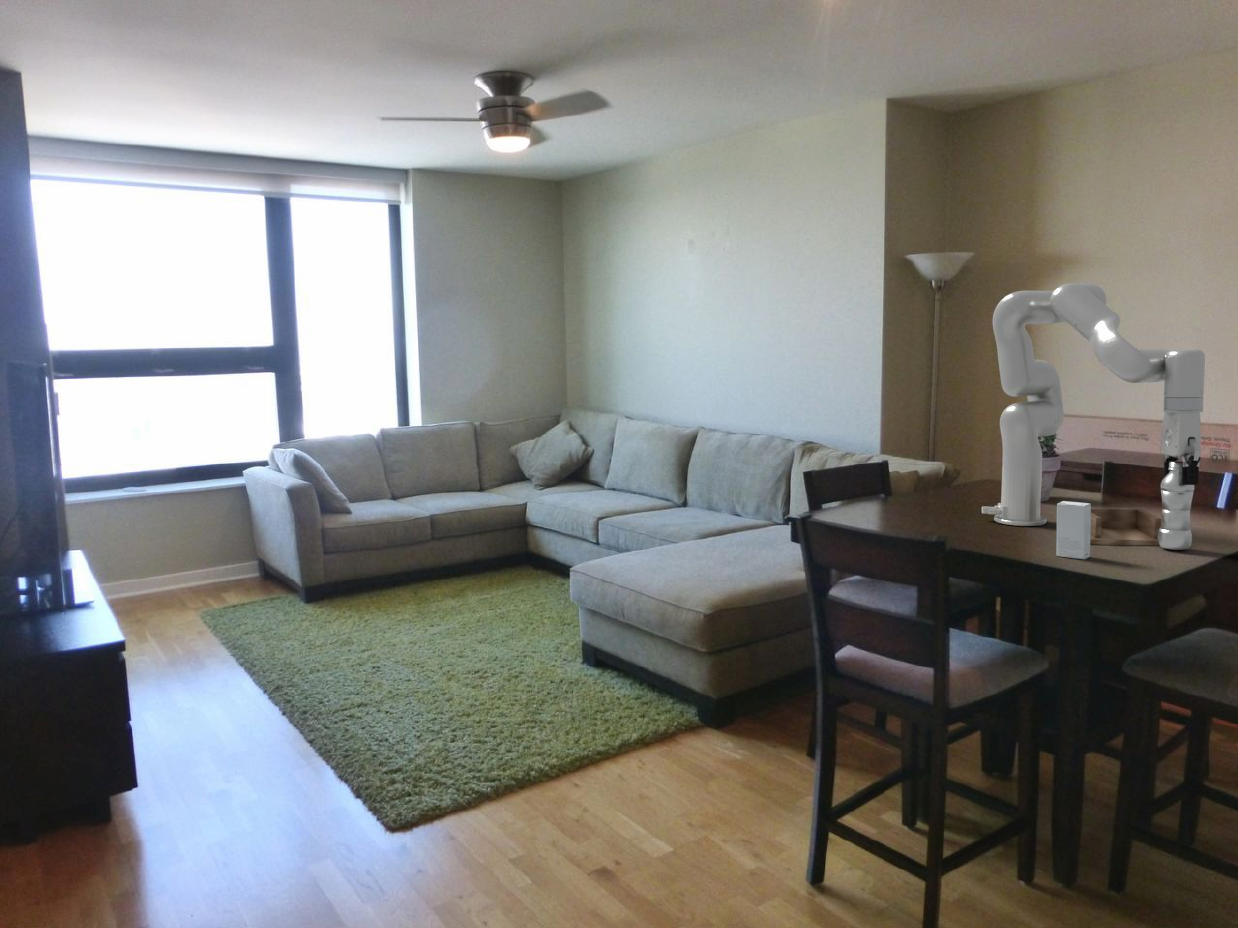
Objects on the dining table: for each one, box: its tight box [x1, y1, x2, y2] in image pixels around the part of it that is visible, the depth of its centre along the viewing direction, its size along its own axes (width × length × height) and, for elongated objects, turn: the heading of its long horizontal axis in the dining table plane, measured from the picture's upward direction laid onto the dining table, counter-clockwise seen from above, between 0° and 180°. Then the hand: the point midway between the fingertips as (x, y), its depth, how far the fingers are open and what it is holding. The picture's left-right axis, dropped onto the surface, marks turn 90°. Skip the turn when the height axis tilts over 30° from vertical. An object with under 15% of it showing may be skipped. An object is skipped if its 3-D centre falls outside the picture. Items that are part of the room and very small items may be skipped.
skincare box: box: [1055, 500, 1092, 560], centre depth 203 cm, size 6×4×12 cm
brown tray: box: [1090, 507, 1162, 547], centre depth 221 cm, size 18×16×6 cm
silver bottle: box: [1158, 460, 1195, 551], centre depth 207 cm, size 6×7×20 cm
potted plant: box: [1038, 433, 1073, 502], centre depth 273 cm, size 18×20×25 cm
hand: (1180, 481), depth 206 cm, fingers open, 9 cm apart
